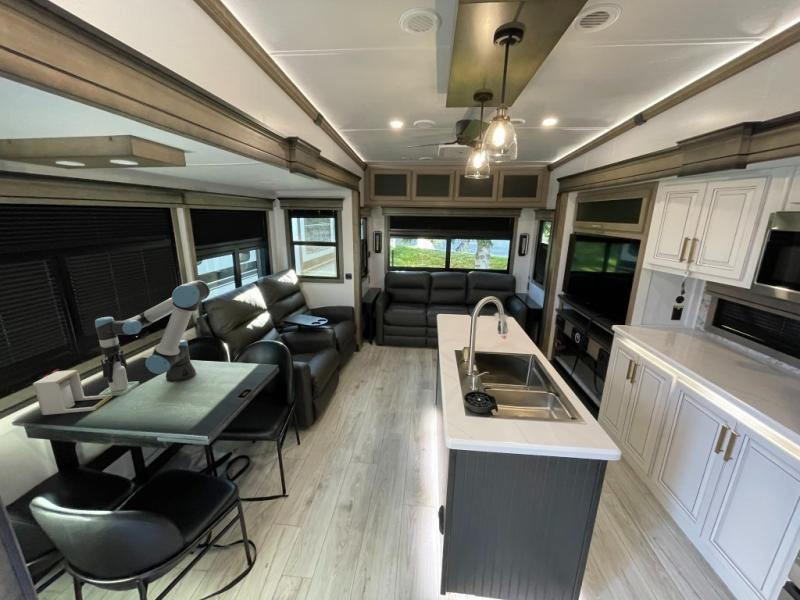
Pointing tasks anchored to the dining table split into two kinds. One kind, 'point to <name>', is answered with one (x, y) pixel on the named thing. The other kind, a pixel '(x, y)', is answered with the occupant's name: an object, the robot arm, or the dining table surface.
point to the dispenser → (63, 393)
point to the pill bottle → (119, 377)
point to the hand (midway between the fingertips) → (118, 383)
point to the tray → (120, 392)
